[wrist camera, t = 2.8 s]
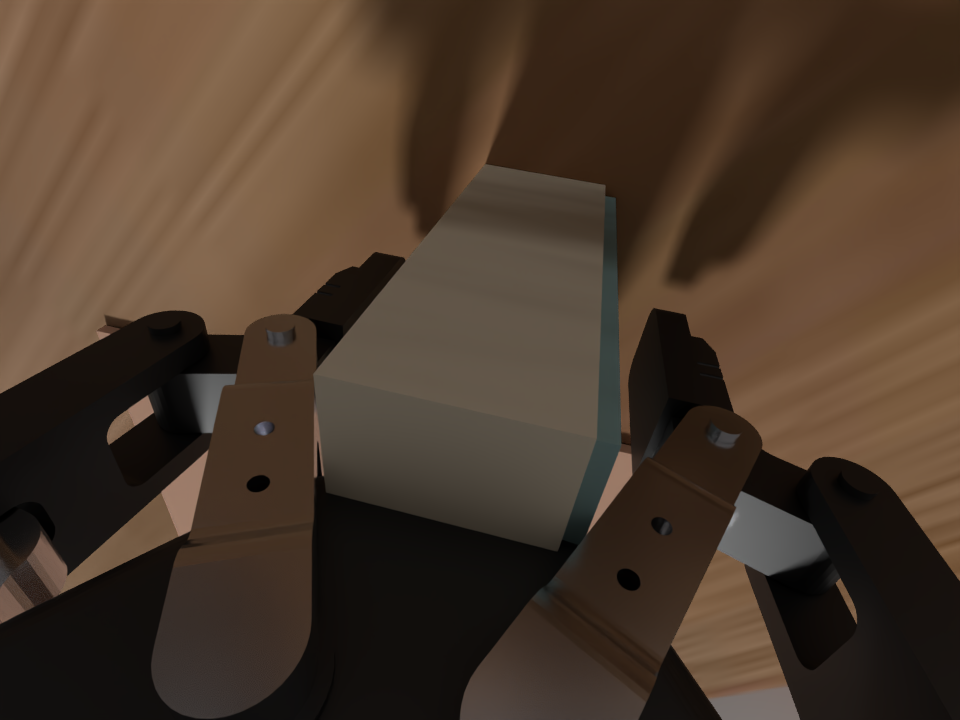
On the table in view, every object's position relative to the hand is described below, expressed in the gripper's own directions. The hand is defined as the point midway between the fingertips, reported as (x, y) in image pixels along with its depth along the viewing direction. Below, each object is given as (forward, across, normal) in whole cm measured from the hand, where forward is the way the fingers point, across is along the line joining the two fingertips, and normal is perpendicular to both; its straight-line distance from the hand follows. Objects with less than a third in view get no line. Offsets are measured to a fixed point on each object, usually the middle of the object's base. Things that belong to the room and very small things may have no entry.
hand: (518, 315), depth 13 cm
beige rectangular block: (+2, 0, 0) cm, 2 cm away
